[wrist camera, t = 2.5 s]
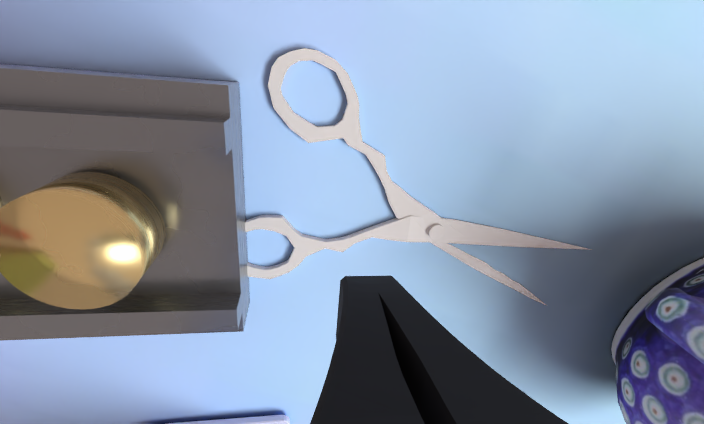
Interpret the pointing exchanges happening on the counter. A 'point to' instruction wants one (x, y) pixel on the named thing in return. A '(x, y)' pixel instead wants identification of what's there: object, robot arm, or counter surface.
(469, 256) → the scissors
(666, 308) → the teapot
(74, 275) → the brass disc
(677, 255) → the counter surface
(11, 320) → the slot block
